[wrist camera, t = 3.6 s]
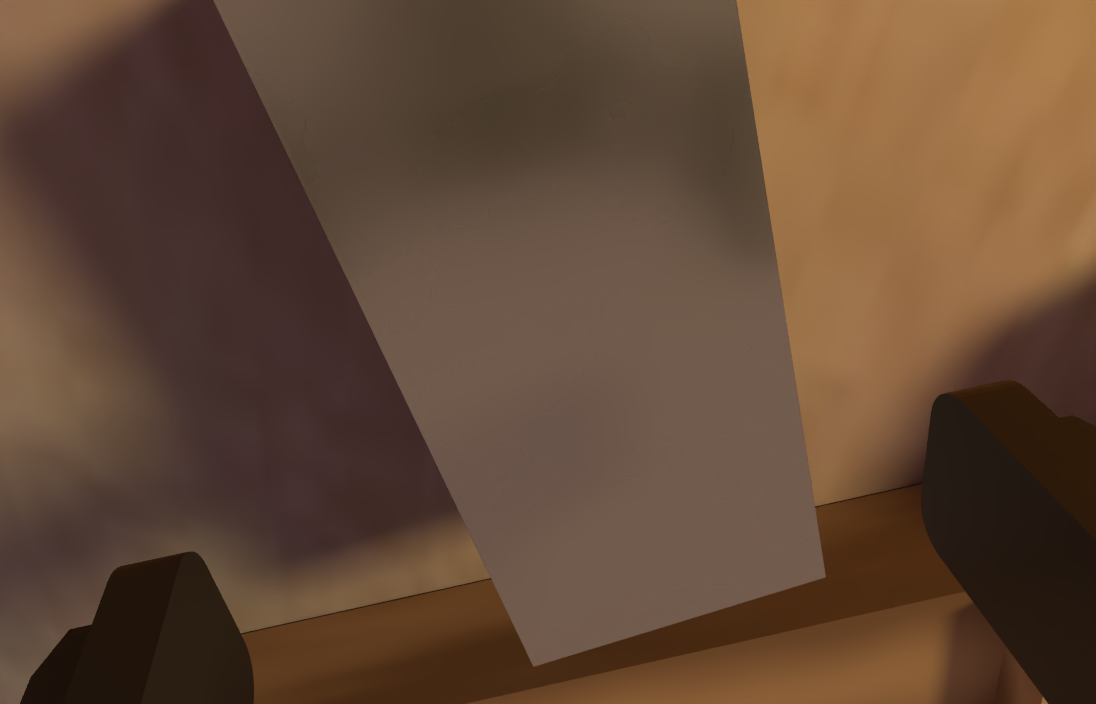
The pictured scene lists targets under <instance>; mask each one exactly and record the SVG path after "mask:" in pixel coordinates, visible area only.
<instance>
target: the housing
mask: <svg viewBox="0 0 1096 704" xmlns="http://www.w3.org/2000/svg"><path fill="white" fill-rule="evenodd" d="M213 1H214V3H215V5H216V7H217V9H218V11H219V13H220V15H221V17H222V20H223V22H224V24H225V26H226V28H227V30H228V32H229V34H230V36H231V38H232V40H233V42H234V44H235V47H236V49H237V51H238V53H239V55H240V57H241V59H242V61H243V63H244V65H245V67H246V69H247V72H248V74H249V76H250V78H251V80H252V82H253V84H254V86H255V88H256V90H257V92H258V94H259V96H260V99H261V101H262V103H263V105H264V107H265V109H266V111H267V113H268V115H269V117H270V119H271V121H272V124H273V126H274V128H275V130H276V132H277V134H278V136H279V138H280V140H281V142H282V144H283V146H284V149H285V151H286V153H287V155H288V157H289V159H290V161H291V163H292V165H293V167H294V169H295V171H296V173H297V176H298V178H299V180H300V182H301V184H302V186H303V188H304V190H305V192H306V194H307V196H308V198H309V201H310V203H311V205H312V207H313V209H314V211H315V213H316V215H317V217H318V219H319V221H320V223H321V226H322V228H323V230H324V232H325V234H326V236H327V238H328V240H329V242H330V244H331V246H332V248H333V250H334V253H335V255H336V257H337V259H338V261H339V263H340V265H341V267H342V269H343V271H344V273H345V275H346V278H347V280H348V282H349V284H350V286H351V288H352V290H353V292H354V294H355V296H356V298H357V300H358V303H359V305H360V307H361V309H362V311H363V313H364V315H365V317H366V319H367V321H368V323H369V325H370V327H371V330H372V332H373V334H374V336H375V338H376V340H377V342H378V344H379V346H380V348H381V350H382V352H383V355H384V357H385V359H386V361H387V363H388V365H389V367H390V369H391V371H392V373H393V375H394V377H395V380H396V382H397V384H398V386H399V388H400V390H401V392H402V394H403V396H404V398H405V400H406V402H407V404H408V407H409V409H410V411H411V413H412V415H413V417H414V419H415V421H416V423H417V425H418V427H419V429H420V432H421V434H422V436H423V438H424V440H425V442H426V444H427V446H428V448H429V450H430V452H431V454H432V457H433V459H434V461H435V463H436V465H437V467H438V469H439V471H440V473H441V475H442V477H443V479H444V481H445V484H446V486H447V488H448V490H449V492H450V494H451V496H452V498H453V500H454V502H455V504H456V506H457V509H458V511H459V513H460V515H461V517H462V519H463V521H464V523H465V525H466V527H467V529H468V531H469V533H470V536H471V538H472V540H473V542H474V544H475V546H476V548H477V550H478V552H479V554H480V556H481V558H482V561H483V563H484V565H485V567H486V569H487V571H488V573H489V575H490V577H491V579H492V581H493V583H494V586H495V588H496V590H497V592H498V594H499V596H500V598H501V600H502V602H503V604H504V606H505V608H506V610H507V613H508V615H509V617H510V619H511V621H512V623H513V625H514V627H515V629H516V631H517V633H518V635H519V638H520V640H521V642H522V644H523V646H524V648H525V650H526V652H527V654H528V656H529V658H530V660H531V663H532V665H533V667H534V666H538V665H541V664H544V663H547V662H551V661H554V660H557V659H561V658H564V657H567V656H570V655H574V654H577V653H580V652H583V651H587V650H590V649H593V648H596V647H600V646H603V645H606V644H610V643H613V642H616V641H619V640H623V639H626V638H629V637H632V636H636V635H639V634H642V633H645V632H649V631H652V630H655V629H659V628H662V627H665V626H668V625H672V624H675V623H678V622H681V621H685V620H688V619H691V618H694V617H698V616H701V615H704V614H708V613H711V612H714V611H717V610H721V609H724V608H727V607H730V606H734V605H737V604H740V603H743V602H747V601H750V600H753V599H757V598H760V597H763V596H766V595H770V594H773V593H776V592H779V591H783V590H786V589H789V588H792V587H796V586H799V585H802V584H806V583H809V582H812V581H815V580H819V579H822V578H825V577H826V574H825V568H824V562H823V555H822V549H821V542H820V536H819V529H818V523H817V517H816V510H815V504H814V497H813V491H812V484H811V478H810V471H809V465H808V459H807V452H806V446H805V439H804V433H803V426H802V420H801V414H800V407H799V401H798V394H797V388H796V381H795V375H794V369H793V362H792V356H791V349H790V343H789V336H788V330H787V323H786V317H785V311H784V304H783V298H782V291H781V285H780V278H779V272H778V266H777V259H776V253H775V246H774V240H773V233H772V227H771V221H770V214H769V208H768V201H767V195H766V188H765V182H764V175H763V169H762V163H761V156H760V150H759V143H758V137H757V130H756V124H755V118H754V111H753V105H752V98H751V92H750V85H749V79H748V73H747V66H746V60H745V53H744V47H743V40H742V34H741V27H740V21H739V15H738V8H737V2H736V0H213Z"/></svg>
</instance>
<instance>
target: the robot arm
mask: <svg viewBox="0 0 1096 704" xmlns="http://www.w3.org/2000/svg"><path fill="white" fill-rule="evenodd" d="M921 511H922V517H923V521H924V525H925V528H926V531H927V534H928V536H929V539H930V541H931V543H932V545H933V547H934V549H935V550H936V552H937V554H938V555H939V557H940V558H941V559H942V561H943V562H944V563H945V565H946V566H947V567H948V569H949V570H950V571H951V573H952V574H953V575H954V577H955V578H956V580H957V581H958V582H959V584H960V585H961V586H962V588H963V589H964V590H965V592H966V593H967V594H968V596H969V597H970V599H971V600H972V601H973V603H974V604H975V605H976V607H977V608H978V609H979V611H980V612H981V613H982V615H983V616H984V617H985V619H986V620H987V622H988V623H989V624H990V626H991V627H992V628H993V630H994V631H995V632H996V634H997V635H998V636H999V638H1000V639H1001V640H1002V642H1003V643H1004V645H1005V646H1006V647H1007V649H1008V650H1009V651H1010V653H1011V654H1012V655H1013V657H1014V658H1015V659H1016V661H1017V662H1018V663H1019V665H1020V666H1021V668H1022V669H1023V670H1024V672H1025V673H1026V674H1027V676H1028V677H1029V678H1030V680H1031V681H1032V682H1033V684H1034V685H1035V686H1036V688H1037V689H1038V691H1039V692H1040V693H1041V695H1042V696H1043V697H1044V699H1045V700H1046V701H1047V703H1048V704H1096V427H1095V426H1093V425H1091V424H1089V423H1087V422H1085V421H1083V420H1081V419H1079V418H1077V417H1074V416H1068V417H1063V418H1058V417H1057V416H1056V415H1055V414H1054V413H1053V412H1052V411H1051V410H1049V409H1048V408H1047V407H1046V406H1045V405H1044V404H1043V403H1042V402H1041V401H1040V400H1038V399H1037V398H1036V397H1035V396H1034V395H1033V394H1032V393H1031V392H1030V391H1028V390H1027V389H1026V388H1025V387H1024V386H1022V385H1021V384H1019V383H1017V382H1015V381H1011V380H1005V381H1001V382H996V383H991V384H987V385H982V386H977V387H973V388H968V389H963V390H958V391H954V392H949V393H944V394H941V395H939V396H938V397H937V398H936V400H935V401H934V403H933V406H932V411H931V418H930V426H929V434H928V442H927V451H926V459H925V467H924V475H923V484H922V492H921ZM253 703H254V677H253V669H252V664H251V659H250V655H249V651H248V648H247V646H246V643H245V641H244V639H243V637H242V635H241V633H240V631H239V629H238V627H237V625H236V623H235V621H234V619H233V617H232V615H231V613H230V611H229V609H228V607H227V605H226V603H225V601H224V599H223V597H222V595H221V593H220V591H219V589H218V587H217V585H216V583H215V581H214V580H213V578H212V576H211V574H210V572H209V570H208V568H207V566H206V564H205V562H204V560H203V559H202V558H201V556H200V555H198V554H197V553H195V552H185V553H181V554H176V555H171V556H167V557H162V558H157V559H153V560H148V561H143V562H138V563H134V564H129V565H124V566H120V567H118V568H117V569H115V570H114V571H113V573H112V574H111V576H110V578H109V580H108V582H107V585H106V588H105V590H104V593H103V596H102V598H101V601H100V604H99V607H98V609H97V612H96V615H95V618H94V620H93V623H92V625H88V626H83V627H78V628H74V629H70V630H69V631H68V632H67V633H66V635H65V636H64V637H63V638H62V639H61V641H60V642H59V643H58V644H57V646H56V647H55V648H54V649H53V651H52V652H51V653H50V654H49V655H48V657H47V658H46V659H45V660H44V662H43V663H42V664H41V665H40V667H39V668H38V669H37V670H36V671H35V673H34V674H33V675H32V676H31V678H30V680H29V683H28V685H27V688H26V690H25V693H24V695H23V697H22V700H21V702H20V704H253Z"/></svg>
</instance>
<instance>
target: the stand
mask: <svg viewBox="0 0 1096 704" xmlns="http://www.w3.org/2000/svg"><path fill="white" fill-rule="evenodd" d="M921 492H922V484H919V485H915V486H910V487H906V488H901V489H897V490H892V491H888V492H883V493H879V494H874V495H870V496H865V497H861V498H856V499H851V500H847V501H842V502H838V503H833V504H829V505H824V506H820V507H815V510H816V517H817V523H818V529H819V536H820V542H821V549H822V555H823V562H824V568H825V574H826V577H825V578H822V579H819V580H815V581H812V582H809V583H806V584H802V585H799V586H796V587H792V588H789V589H786V590H783V591H779V592H776V593H773V594H770V595H766V596H763V597H760V598H757V599H753V600H750V601H747V602H743V603H740V604H737V605H734V606H730V607H727V608H724V609H721V610H717V611H714V612H711V613H708V614H704V615H701V616H698V617H694V618H691V619H688V620H685V621H681V622H678V623H675V624H672V625H668V626H665V627H662V628H659V629H655V630H652V631H649V632H645V633H642V634H639V635H636V636H632V637H629V638H626V639H623V640H619V641H616V642H613V643H610V644H606V645H603V646H600V647H596V648H593V649H590V650H587V651H583V652H580V653H577V654H574V655H570V656H567V657H564V658H561V659H557V660H554V661H551V662H547V663H544V664H541V665H538V666H534V667H533V665H532V663H531V660H530V658H529V656H528V654H527V652H526V650H525V648H524V646H523V644H522V642H521V640H520V638H519V635H518V633H517V631H516V629H515V627H514V625H513V623H512V621H511V619H510V617H509V615H508V613H507V610H506V608H505V606H504V604H503V602H502V600H501V598H500V596H499V594H498V592H497V590H496V588H495V586H494V583H493V581H492V579H490V580H485V581H480V582H476V583H471V584H467V585H462V586H458V587H453V588H449V589H444V590H440V591H435V592H431V593H426V594H422V595H417V596H413V597H408V598H404V599H399V600H395V601H390V602H385V603H381V604H376V605H372V606H367V607H363V608H358V609H354V610H349V611H345V612H340V613H336V614H331V615H327V616H322V617H318V618H313V619H309V620H304V621H299V622H295V623H290V624H286V625H281V626H277V627H272V628H268V629H263V630H259V631H254V632H250V633H245V634H241V635H242V637H243V639H244V641H245V643H246V646H247V648H248V651H249V655H250V659H251V664H252V669H253V677H254V703H253V704H1048V703H1047V701H1046V700H1045V699H1044V697H1043V696H1042V695H1041V693H1040V692H1039V691H1038V689H1037V688H1036V686H1035V685H1034V684H1033V682H1032V681H1031V680H1030V678H1029V677H1028V676H1027V674H1026V673H1025V672H1024V670H1023V669H1022V668H1021V666H1020V665H1019V663H1018V662H1017V661H1016V659H1015V658H1014V657H1013V655H1012V654H1011V653H1010V651H1009V650H1008V649H1007V647H1006V646H1005V645H1004V643H1003V642H1002V640H1001V639H1000V638H999V636H998V635H997V634H996V632H995V631H994V630H993V628H992V627H991V626H990V624H989V623H988V622H987V620H986V619H985V617H984V616H983V615H982V613H981V612H980V611H979V609H978V608H977V607H976V605H975V604H974V603H973V601H972V600H971V599H970V597H969V596H968V594H967V593H966V592H965V590H964V589H963V588H962V586H961V585H960V584H959V582H958V581H957V580H956V578H955V577H954V575H953V574H952V573H951V571H950V570H949V569H948V567H947V566H946V565H945V563H944V562H943V561H942V559H941V558H940V557H939V555H938V554H937V552H936V550H935V549H934V547H933V545H932V543H931V541H930V539H929V536H928V534H927V531H926V528H925V525H924V521H923V517H922V511H921Z"/></svg>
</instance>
